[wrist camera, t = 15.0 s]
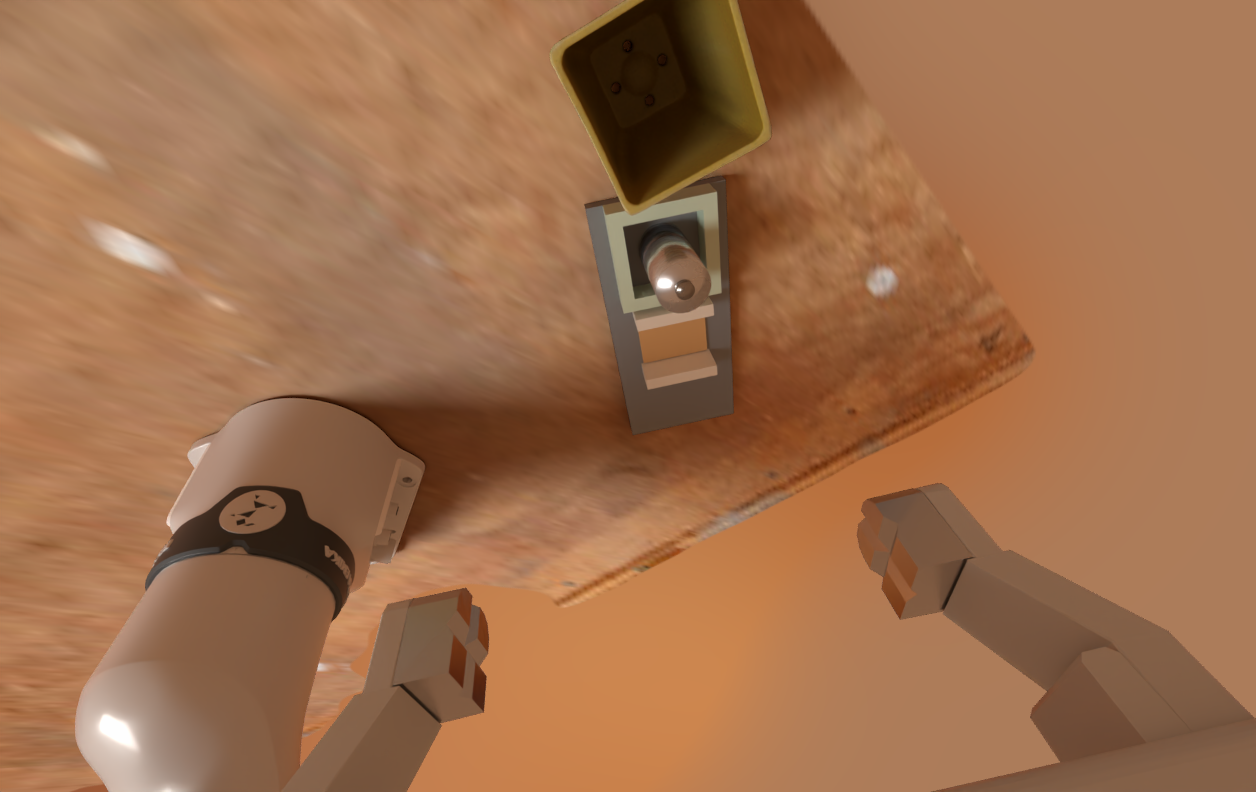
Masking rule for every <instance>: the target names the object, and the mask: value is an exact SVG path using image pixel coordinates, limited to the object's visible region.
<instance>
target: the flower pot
mask: <svg viewBox="0 0 1256 792" xmlns="http://www.w3.org/2000/svg"><path fill="white" fill-rule="evenodd" d="M625 41H630V42H631V43H632V49H631V51H629V52H626V51H625V50H624V49H623V44H624V42H625ZM660 55H665V56H666V59H667V61H666V63H665V64H664V65H659V64H658V57H659V56H660ZM550 61H551V64H552V66H553V68H554V69H555V71H556V74H557V75H558V77H559V79H560V81H561V83H562V85H563V87H564V89H565V91H566V92H567V94H568V96H569V98H570V100H571V102H572V104H573V105H574V107H575V109H576V111H577V113H578V115H579V117H580V119H581V121H582V123H583V125H584V127H585V129H586V131H587V133H588V135H589V136H590V139H591V141H592V143H593V145H594V147H595V149H596V151H597V153H598V155H599V157H600V160H601V162H602V164H603V166H604V168H605V170H606V172H607V174H608V176H609V178H610V180H611V182H612V185H613V187H614V189H615V191H616V193H617V195H618V198H619V200H620V202H621V204H622V206H623V208H624V210H625V211H626V212H627V213H628V214H629V215H631V216H633V215H636V214H638V213H640V212H642V211H644V210H646V209H647V208H649V207H651V206H653V205H654V204H656V203H658V202H660V201H661V200H663V199H665V198H667V197H669V196H670V195H672V194H674V193H676V192H677V191H679V190H681V189H683V188H684V187H686V186H688V185H690V184H692V183H694V182H695V181H697V180H699V179H701V178H703V177H704V176H706V175H708V174H710V173H712V172H714V171H716V170H717V169H719V168H721V167H723V166H725V165H726V164H728V163H730V162H732V161H734V160H736V159H738V158H740V157H741V156H743V155H745V154H747V153H748V152H750V151H752V150H754V149H756V148H758V147H759V146H761V145H762V144H764V143H765V142H767V141H768V140H769V139H771V136H772V127H771V122H770V118H769V115H768V111H767V107H766V104H765V100H764V96H763V93H762V89H761V86H760V82H759V78H758V75H757V71H756V67H755V63H754V60H753V56H752V52H751V48H750V45H749V42H748V38H747V34H746V30H745V27H744V23H743V19H742V15H741V11H740V8H739V4H738V0H625V1H623V2H622V3H620V4H618V5H617V6H615V7H614V8H612V9H611V10H609V11H607V12H606V13H604V14H603V15H601V16H599V17H598V18H596V19H594V20H593V21H591V22H590V23H588V24H586V25H585V26H583V27H581V28H580V29H578V30H577V31H575V32H573V33H572V34H570V35H568V36H566V37H565V38H563V39H561V40H560V41H559V42H557V43H556V44H555V45H554V46H553V47H552V49H551V51H550ZM615 82H617V83H619V84H620V91H619V92H617V93H615V92H613V91H612V85H613V83H615ZM648 95H651V96H652V97H653V98H654V101H653V103H652V104H651V105H647V104H646V103H645V98H646V97H647V96H648Z"/></svg>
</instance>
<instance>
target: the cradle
mask: <svg viewBox="0 0 1256 792" xmlns="http://www.w3.org/2000/svg"><path fill="white" fill-rule="evenodd" d="M709 316H714V306H713V303H712V301H711V299H710V297H709V296H708V297H707V299H706V300H705V302H704V303H703V304H702V305H701V306H699V307H698V308H696V309H695V310H693V311H690V312H687V313H673V312H670V311H668V310H666V309H665V308H664V307H663V306H658V307H653V308H649V309H644V310H639V311H635V312H633V317H634V320H635V324H636V327H637V330H638V333H639V339H640V345H641V351H642V357H643V362H644V363H641V365H642V370H643V375H644V378H645V382H646V385H647V389H648V390H649V389H654V388H658V387H663V386H668V385H672V384H677V383H682V382H686V381H691V380H696V379H700V378H705V377H710V376H714V375H717V365H716V362H715V360H714V358H713V356H712V354H711V352H710V350H709V349H707V340H706V326H705V317H709Z"/></svg>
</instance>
